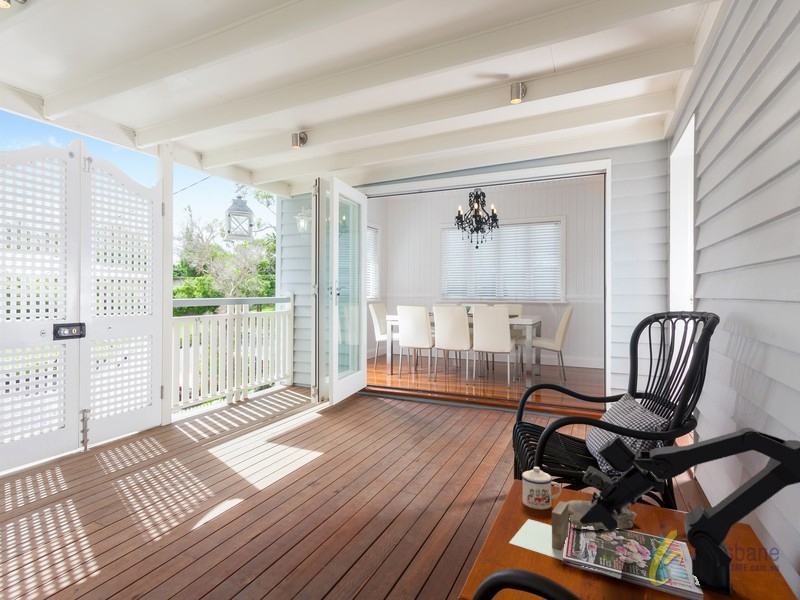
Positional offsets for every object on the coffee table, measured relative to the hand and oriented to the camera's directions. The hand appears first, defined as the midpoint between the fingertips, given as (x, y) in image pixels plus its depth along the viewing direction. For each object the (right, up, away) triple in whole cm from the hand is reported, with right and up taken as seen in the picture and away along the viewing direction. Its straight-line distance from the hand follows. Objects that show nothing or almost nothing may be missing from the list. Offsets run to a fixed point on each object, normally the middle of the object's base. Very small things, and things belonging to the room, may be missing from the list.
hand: (581, 521), depth 108 cm
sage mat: (-3, -7, +1) cm, 8 cm away
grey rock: (+12, -8, +15) cm, 21 cm away
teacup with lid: (-2, -8, +26) cm, 27 cm away
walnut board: (-4, -7, +2) cm, 8 cm away
